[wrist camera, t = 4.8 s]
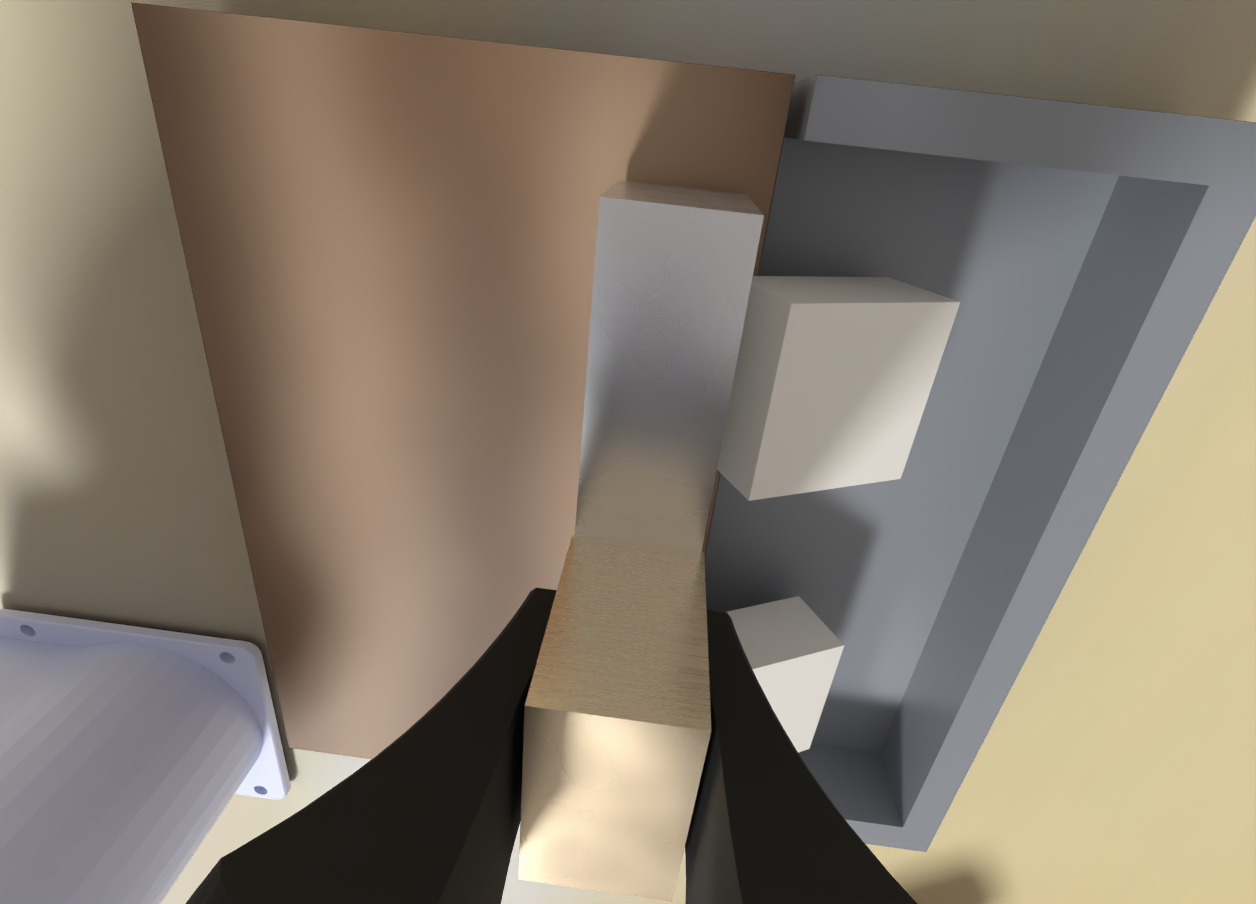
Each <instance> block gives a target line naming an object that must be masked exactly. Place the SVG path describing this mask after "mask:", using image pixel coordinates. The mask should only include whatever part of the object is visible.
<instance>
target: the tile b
mask: <svg viewBox="0 0 1256 904" xmlns="http://www.w3.org/2000/svg"><path fill="white" fill-rule="evenodd" d="M959 305H960V302H959V301H956V300H953V299H950V298H947V297H944V296H941V295H938V294H936V293H933V292H930V291H927V290H924V289H921V288H918V287H915V286H912V285H910V284H907V283H904V282H901V281H898V280H895V279H892V278H889V277H813V276H753V277H752V283H751V288H750V293H749V299H748V304H747V310H746V315H745V320H744V326H743V331H742V337H741V342H740V347H739V353H738V358H737V364H736V369H735V374H734V380H733V385H732V391H731V396H730V401H729V407H728V412H727V418H726V423H725V428H724V434H723V439H722V444H721V450H720V455H719V461H718V466H717V470H718V471H719V472H720V473H721V474H722V475H723V476H724V477H725V478H726V479H727V480H728V481H729V482H730V483H731V484H732V485H733V486H734V487H735V488H736V489H737V490H738V491H739V492H740V493H741V494H742V495H743V496H744V497H745V498H746V499H747V500H748V501H751V500H758V499H765V498H772V497H779V496H786V495H793V494H799V493H806V492H813V491H820V490H827V489H834V488H841V487H848V486H855V485H862V484H869V483H876V482H882V481H889V480H896V479H901V476H902V473H903V470H904V468H905V465H906V462H907V459H908V456H909V453H910V450H911V447H912V444H913V441H914V438H915V435H916V432H917V429H918V426H919V423H920V420H921V417H922V414H923V411H924V408H925V405H926V402H927V399H928V397H929V394H930V391H931V388H932V385H933V382H934V379H935V376H936V373H937V370H938V367H939V364H940V361H941V358H942V355H943V352H944V349H945V346H946V343H947V340H948V337H949V334H950V331H951V329H952V326H953V323H954V320H955V317H956V314H957V311H958V308H959Z"/></svg>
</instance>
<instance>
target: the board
mask: <svg viewBox="0 0 1256 904" xmlns="http://www.w3.org/2000/svg"><path fill="white" fill-rule="evenodd" d="M131 4H132V9H133V13H134V18H135V23H136V28H137V32H138V37H139V42H140V46H141V51H142V56H143V61H144V65H145V70H146V75H147V79H148V84H149V89H150V94H151V98H152V103H153V108H154V112H155V117H156V122H157V127H158V131H159V136H160V141H161V146H162V150H163V155H164V160H165V164H166V169H167V174H168V179H169V183H170V188H171V193H172V197H173V202H174V207H175V212H176V216H177V221H178V226H179V230H180V235H181V240H182V245H183V249H184V254H185V259H186V263H187V268H188V273H189V278H190V282H191V287H192V292H193V296H194V301H195V306H196V311H197V315H198V320H199V325H200V329H201V334H202V339H203V344H204V348H205V353H206V358H207V362H208V367H209V372H210V377H211V381H212V386H213V391H214V395H215V400H216V405H217V410H218V414H219V419H220V424H221V428H222V433H223V438H224V443H225V447H226V452H227V457H228V461H229V466H230V471H231V476H232V480H233V485H234V490H235V494H236V499H237V504H238V509H239V513H240V518H241V523H242V527H243V532H244V537H245V542H246V546H247V551H248V556H249V560H250V565H251V570H252V575H253V579H254V584H255V589H256V593H257V598H258V603H259V608H260V612H261V617H262V622H263V626H264V631H265V636H266V641H267V645H268V650H269V655H270V659H271V664H272V669H273V674H274V678H275V683H276V688H277V692H278V697H279V702H280V707H281V711H282V716H283V721H284V725H285V730H286V735H287V740H288V744H289V748H295V749H302V750H309V751H316V752H324V753H331V754H338V755H345V756H352V757H359V758H366V759H373V758H374V757H376V756H377V755H378V754H379V753H380V752H382V751H383V750H384V749H385V748H387V747H388V746H389V745H390V744H391V743H393V742H394V741H395V740H396V739H398V738H399V737H400V736H401V735H402V734H404V733H405V732H406V731H407V730H408V729H409V728H410V727H411V726H413V725H414V724H415V723H416V722H417V721H418V720H419V719H420V718H422V717H423V716H424V715H425V714H426V713H427V712H428V711H429V710H430V709H431V708H432V707H433V706H434V705H435V704H436V703H437V702H439V701H440V700H441V699H442V698H443V697H444V696H445V695H446V694H447V693H448V692H449V691H450V689H451V688H452V687H453V686H454V685H455V684H456V683H457V682H458V681H459V680H460V679H461V678H462V677H463V676H464V675H465V674H466V673H467V672H468V670H469V669H470V668H471V667H472V666H473V665H474V664H475V663H476V662H477V661H478V660H479V658H480V657H481V656H482V655H483V654H484V652H485V651H486V650H487V649H488V648H489V646H490V645H491V644H492V643H493V642H494V640H495V639H496V638H497V637H498V636H499V635H500V633H501V632H502V631H503V629H504V628H505V627H506V626H507V624H508V623H509V622H510V620H511V619H512V618H513V616H514V615H515V614H516V612H517V611H518V609H519V608H520V606H521V605H522V604H523V602H524V601H525V599H526V598H527V596H528V594H529V593H530V591H532V590H533V589H535V588H544V589H551V590H557V588H558V584H559V581H560V577H561V573H562V570H563V566H564V563H565V559H566V555H567V552H568V548H569V545H570V541H571V537H572V535H573V536H575V525H576V511H577V498H578V484H579V470H580V457H581V443H582V429H583V416H584V402H585V388H586V375H587V361H588V347H589V334H590V320H591V307H592V293H593V279H594V266H595V252H596V238H597V225H598V211H599V197H600V196H601V195H602V194H603V193H604V192H605V191H607V190H608V189H609V188H610V187H611V186H613V185H614V184H615V183H616V182H617V181H618V180H622V181H631V182H640V183H649V184H657V185H666V186H675V187H684V188H692V189H701V190H710V191H719V192H728V193H736V194H745V195H748V197H749V198H750V199H751V200H752V201H753V203H754V204H755V205H756V206H757V208H758V209H759V210H760V211H761V212H762V214H763V215H764V218H763V223H762V229H761V234H760V240H759V245H758V250H757V256H756V261H755V267H754V272H753V276H757V275H758V269H759V264H760V259H761V253H762V248H763V243H764V237H765V232H766V227H767V222H768V216H769V211H770V206H771V200H772V195H773V190H774V184H775V179H776V174H777V169H778V163H779V158H780V153H781V147H782V142H783V137H784V131H785V126H786V121H787V115H788V110H789V105H790V100H791V94H792V89H793V84H794V78H795V75H792V74H783V73H774V72H764V71H755V70H746V69H737V68H728V67H718V66H709V65H700V64H691V63H682V62H672V61H663V60H654V59H645V58H636V57H626V56H617V55H608V54H599V53H590V52H580V51H571V50H562V49H553V48H544V47H534V46H525V45H516V44H507V43H498V42H489V41H479V40H470V39H461V38H452V37H443V36H433V35H424V34H415V33H406V32H397V31H387V30H378V29H369V28H360V27H351V26H341V25H332V24H323V23H314V22H305V21H295V20H286V19H277V18H268V17H259V16H249V15H240V14H231V13H222V12H213V11H204V10H194V9H185V8H176V7H167V6H158V5H148V4H139V3H131ZM719 476H720V472H719V471H718V470H717V471H716V477H715V482H714V488H713V493H712V498H711V504H710V509H709V515H708V520H707V525H706V531H705V536H704V542H703V547H702V552H704V556H705V550H706V545H707V540H708V534H709V529H710V524H711V518H712V513H713V508H714V503H715V497H716V492H717V487H718V481H719Z"/></svg>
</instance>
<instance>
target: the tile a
mask: <svg viewBox="0 0 1256 904" xmlns="http://www.w3.org/2000/svg"><path fill="white" fill-rule="evenodd" d="M727 613H728V615H729V616H730V617H731V619H732V622H733V624H734V627H735V630H736V633H737V635H738V638H739V640H740V643H741V645H742V647H743V650H744V652H745V654H746V656H747V659H748V661H749V663H750V665H751V667H752V670H753V672H754V674H755V676H756V678H757V680H758V682H759V684H760V686H761V688H762V690H763V692H764V693H765V695H766V697H767V699H768V701H769V703H770V705H771V707H772V709H773V711H774V712H775V714H776V716H777V718H778V720H779V721H780V723H781V725H782V727H783V728H784V730H785V732H786V733H787V735H788V737H789V738H790V740H791V742H792V743H793V745H794V747H795V748H796V750H797V751H798V752H801V751H804V750H807V749H809V748H810V745H811V743H812V740H813V737H814V734H815V731H816V728H817V725H818V722H819V719H820V716H821V713H822V710H823V707H824V704H825V701H826V698H827V695H828V692H829V689H830V686H831V683H832V680H833V677H834V675H835V672H836V669H837V666H838V663H839V660H840V657H841V654H842V651H843V648H844V644H843V643H842V642H841V641H840V640H839V639H838V638H837V637H836V636H835V635H834V634H833V632H832V631H831V630H830V629H829V628H828V627H827V626H826V625H825V624H824V623H823V622H822V620H821V619H820V618H819V617H818V616H817V615H816V614H815V613H814V612H813V611H812V610H811V609H810V607H809V606H808V605H807V604H806V603H805V602H804V601H803V600H802V599H801V598H800V597H799V596H797V597H792V598H787V599H783V600H778V601H774V602H769V603H765V604H760V605H755V606H751V607H746V608H742V609H737V610H732V611H728V612H727Z"/></svg>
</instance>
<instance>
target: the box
mask: <svg viewBox="0 0 1256 904" xmlns="http://www.w3.org/2000/svg"><path fill="white" fill-rule="evenodd" d="M1255 217H1256V122H1247V121H1237V120H1228V119H1219V118H1210V117H1201V116H1191V115H1182V114H1173V113H1164V112H1155V111H1145V110H1136V109H1127V108H1118V107H1109V106H1099V105H1090V104H1081V103H1072V102H1063V101H1053V100H1044V99H1035V98H1026V97H1017V96H1007V95H998V94H989V93H980V92H970V91H961V90H952V89H943V88H934V87H924V86H915V85H906V84H897V83H888V82H878V81H869V80H860V79H851V78H842V77H832V76H823V75H816V76H813V77H810V78H807V79H805V80H802V81H799V82H796V83H794V84H793V89H792V94H791V100H790V105H789V110H788V115H787V121H786V126H785V131H784V137H783V142H782V147H781V153H780V158H779V163H778V169H777V174H776V179H775V184H774V190H773V195H772V200H771V206H770V211H769V216H768V222H767V227H766V232H765V237H764V243H763V248H762V253H761V259H760V264H759V269H758V275H757V276H813V277H889V278H892V279H895V280H898V281H901V282H904V283H907V284H910V285H912V286H915V287H918V288H921V289H924V290H927V291H930V292H933V293H936V294H938V295H941V296H944V297H947V298H950V299H953V300H956V301H959V302H960V305H959V308H958V311H957V314H956V317H955V320H954V323H953V326H952V329H951V331H950V334H949V337H948V340H947V343H946V346H945V349H944V352H943V355H942V358H941V361H940V364H939V367H938V370H937V373H936V376H935V379H934V382H933V385H932V388H931V391H930V394H929V397H928V399H927V402H926V405H925V408H924V411H923V414H922V417H921V420H920V423H919V426H918V429H917V432H916V435H915V438H914V441H913V444H912V447H911V450H910V453H909V456H908V459H907V462H906V465H905V468H904V470H903V473H902V476H901V479H896V480H889V481H882V482H876V483H869V484H862V485H855V486H848V487H841V488H834V489H827V490H820V491H813V492H806V493H799V494H793V495H786V496H779V497H772V498H765V499H758V500H751V501H748V500H747V499H746V498H745V497H744V496H743V495H742V494H741V493H740V492H739V491H738V490H737V489H736V488H735V487H734V486H733V485H732V484H731V483H730V482H729V481H728V480H727V479H726V478H725V477H724V476H723V475H722V474H721V473H720V476H719V481H718V487H717V492H716V497H715V503H714V508H713V513H712V518H711V524H710V529H709V534H708V540H707V545H706V550H705V556H704V560H705V585H706V610H712V611H720V612H728V611H732V610H737V609H742V608H746V607H751V606H755V605H760V604H765V603H769V602H774V601H778V600H783V599H787V598H792V597H797V596H799V597H800V598H801V599H802V600H803V601H804V602H805V603H806V604H807V605H808V606H809V607H810V609H811V610H812V611H813V612H814V613H815V614H816V615H817V616H818V617H819V618H820V619H821V620H822V622H823V623H824V624H825V625H826V626H827V627H828V628H829V629H830V630H831V631H832V632H833V634H834V635H835V636H836V637H837V638H838V639H839V640H840V641H841V642H842V643H843V644H844V648H843V651H842V654H841V657H840V660H839V663H838V666H837V669H836V672H835V675H834V677H833V680H832V683H831V686H830V689H829V692H828V695H827V698H826V701H825V704H824V707H823V710H822V713H821V716H820V719H819V722H818V725H817V728H816V731H815V734H814V737H813V740H812V743H811V745H810V748H809V749H807V750H804V751H801V752H798V753H799V755H800V756H801V758H802V759H803V761H804V762H805V764H806V765H807V767H808V769H809V770H810V772H811V773H812V774H813V776H814V777H815V779H816V780H817V782H818V783H819V785H820V786H821V787H822V789H823V790H824V792H825V793H826V795H827V796H828V797H829V799H830V800H831V801H832V803H833V804H834V805H835V807H836V808H837V809H838V811H839V812H840V813H841V815H842V816H843V817H844V819H845V820H846V821H847V823H848V824H849V825H850V826H851V828H852V829H853V830H854V831H855V832H856V834H857V835H858V836H859V837H860V838H861V840H862V841H863V842H864V843H865V844H872V845H879V846H887V847H894V848H901V849H908V850H915V851H922V852H926V851H927V849H928V847H929V845H930V844H931V842H932V840H933V838H934V836H935V834H936V832H937V830H938V828H939V826H940V824H941V822H942V820H943V818H944V817H945V815H946V813H947V811H948V809H949V807H950V805H951V803H952V801H953V799H954V797H955V795H956V793H957V791H958V790H959V788H960V786H961V784H962V782H963V780H964V778H965V776H966V774H967V772H968V770H969V768H970V766H971V764H972V763H973V761H974V759H975V757H976V755H977V753H978V751H979V749H980V747H981V745H982V743H983V741H984V739H985V737H986V736H987V734H988V732H989V730H990V728H991V726H992V724H993V722H994V720H995V718H996V716H997V714H998V712H999V710H1000V708H1001V707H1002V705H1003V703H1004V701H1005V699H1006V697H1007V695H1008V693H1009V691H1010V689H1011V687H1012V685H1013V683H1014V681H1015V680H1016V678H1017V676H1018V674H1019V672H1020V670H1021V668H1022V666H1023V664H1024V662H1025V660H1026V658H1027V656H1028V654H1029V653H1030V651H1031V649H1032V647H1033V645H1034V643H1035V641H1036V639H1037V637H1038V635H1039V633H1040V631H1041V629H1042V627H1043V626H1044V624H1045V622H1046V620H1047V618H1048V616H1049V614H1050V612H1051V610H1052V608H1053V606H1054V604H1055V602H1056V600H1057V599H1058V597H1059V595H1060V593H1061V591H1062V589H1063V587H1064V585H1065V583H1066V581H1067V579H1068V577H1069V575H1070V573H1071V572H1072V570H1073V568H1074V566H1075V564H1076V562H1077V560H1078V558H1079V556H1080V554H1081V552H1082V550H1083V548H1084V546H1085V544H1086V543H1087V541H1088V539H1089V537H1090V535H1091V533H1092V531H1093V529H1094V527H1095V525H1096V523H1097V521H1098V519H1099V517H1100V516H1101V514H1102V512H1103V510H1104V508H1105V506H1106V504H1107V502H1108V500H1109V498H1110V496H1111V494H1112V492H1113V490H1114V489H1115V487H1116V485H1117V483H1118V481H1119V479H1120V477H1121V475H1122V473H1123V471H1124V469H1125V467H1126V465H1127V463H1128V462H1129V460H1130V458H1131V456H1132V454H1133V452H1134V450H1135V448H1136V446H1137V444H1138V442H1139V440H1140V438H1141V436H1142V435H1143V433H1144V431H1145V429H1146V427H1147V425H1148V423H1149V421H1150V419H1151V417H1152V415H1153V413H1154V411H1155V409H1156V408H1157V406H1158V404H1159V402H1160V400H1161V398H1162V396H1163V394H1164V392H1165V390H1166V388H1167V386H1168V384H1169V382H1170V381H1171V379H1172V377H1173V375H1174V373H1175V371H1176V369H1177V367H1178V365H1179V363H1180V361H1181V359H1182V357H1183V355H1184V353H1185V352H1186V350H1187V348H1188V346H1189V344H1190V342H1191V340H1192V338H1193V336H1194V334H1195V332H1196V330H1197V328H1198V326H1199V325H1200V323H1201V321H1202V319H1203V317H1204V315H1205V313H1206V311H1207V309H1208V307H1209V305H1210V303H1211V301H1212V299H1213V298H1214V296H1215V294H1216V292H1217V290H1218V288H1219V286H1220V284H1221V282H1222V280H1223V278H1224V276H1225V274H1226V272H1227V271H1228V269H1229V267H1230V265H1231V263H1232V261H1233V259H1234V257H1235V255H1236V253H1237V251H1238V249H1239V247H1240V245H1241V244H1242V242H1243V240H1244V238H1245V236H1246V234H1247V232H1248V230H1249V228H1250V226H1251V224H1252V222H1253V220H1254V218H1255Z"/></svg>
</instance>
